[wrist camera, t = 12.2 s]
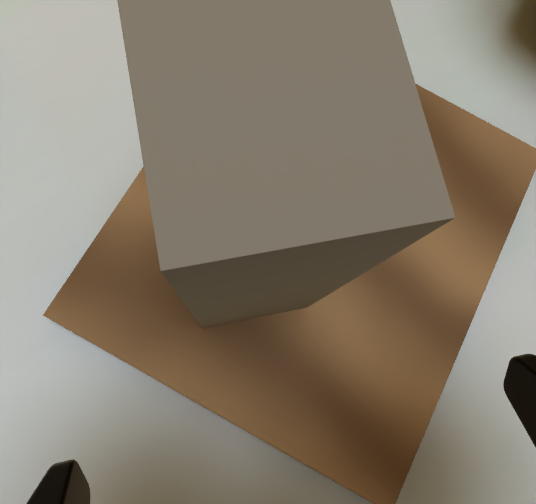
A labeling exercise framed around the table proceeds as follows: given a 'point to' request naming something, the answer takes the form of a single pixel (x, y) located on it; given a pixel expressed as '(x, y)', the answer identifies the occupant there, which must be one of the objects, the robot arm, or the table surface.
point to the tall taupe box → (277, 147)
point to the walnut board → (320, 321)
